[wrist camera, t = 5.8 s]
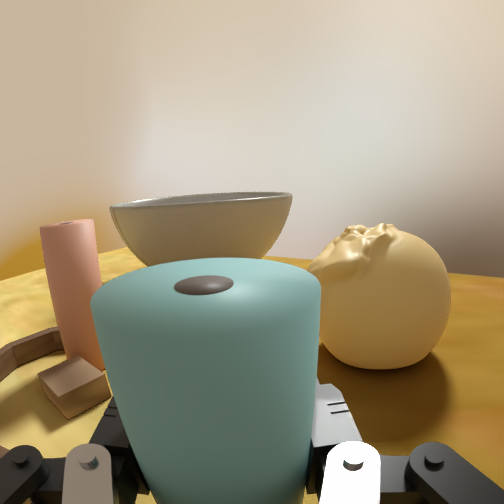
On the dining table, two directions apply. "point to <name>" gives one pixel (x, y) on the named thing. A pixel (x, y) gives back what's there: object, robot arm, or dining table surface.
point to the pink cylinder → (73, 285)
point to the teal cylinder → (214, 376)
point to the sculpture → (381, 297)
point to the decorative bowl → (202, 225)
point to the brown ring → (57, 374)
